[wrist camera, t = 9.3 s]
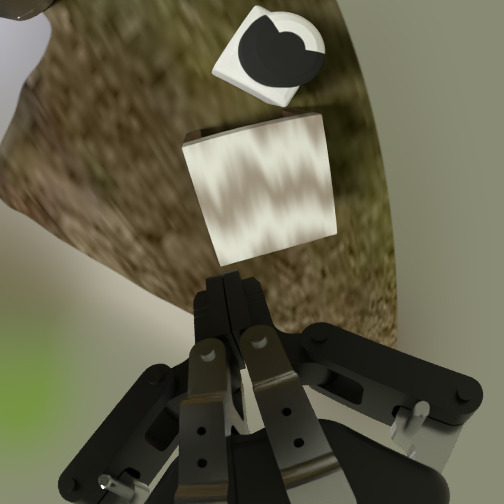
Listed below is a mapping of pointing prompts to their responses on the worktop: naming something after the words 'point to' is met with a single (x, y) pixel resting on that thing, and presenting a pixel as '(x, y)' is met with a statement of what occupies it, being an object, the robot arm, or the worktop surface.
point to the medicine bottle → (272, 55)
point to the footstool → (263, 185)
